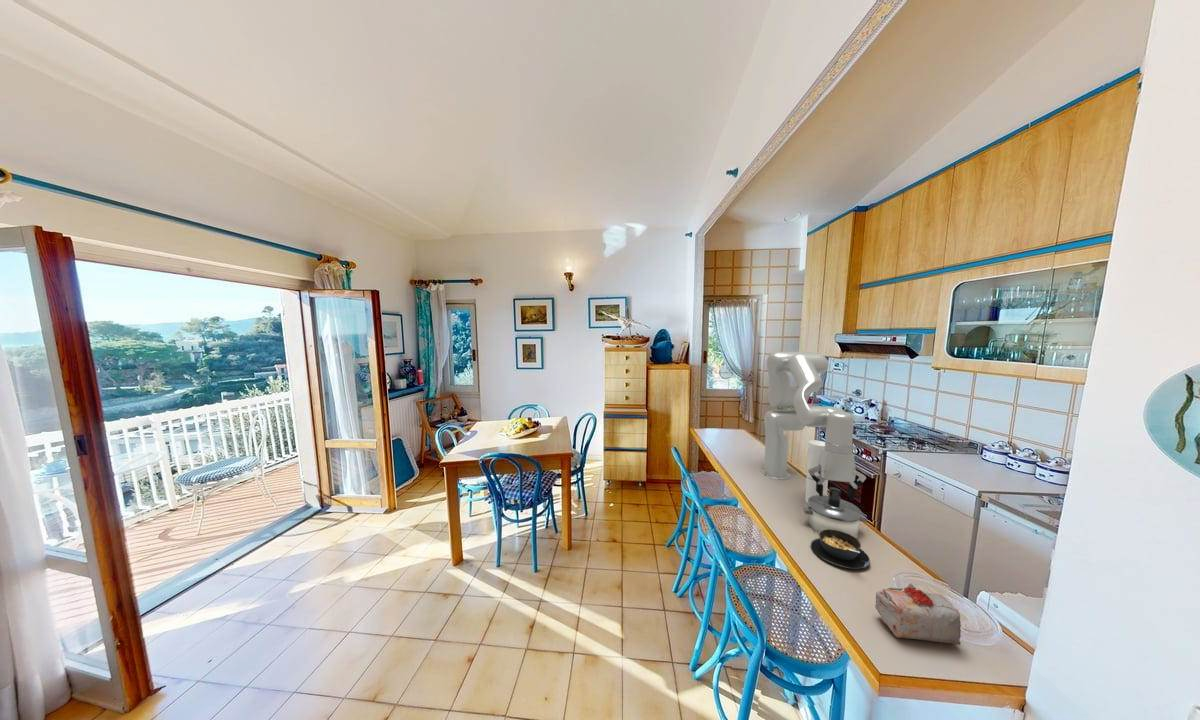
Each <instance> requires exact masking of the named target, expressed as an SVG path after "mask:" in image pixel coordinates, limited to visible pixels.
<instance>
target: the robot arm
mask: <svg viewBox="0 0 1200 720" xmlns="http://www.w3.org/2000/svg"><path fill="white" fill-rule="evenodd" d="M766 369H767V373H768V403H769V405H770V406H771V407H773V408H785V409H771V410H768V411H766V412H765V413H764V416H763V421H764V428H765V437H764V438H765V442H764V445H765V447H764V466H763V467H762V468H763V469H762V468H760V473H761V472H762V473H763V474H764V475H766V476H768V477H767V478H769V477H770V478H769V479H772V478H773V480H777V479H779V480H778V481H787V480H789V479H791V474H790V473H789V472H788V471H787V470H788V453H789V452H788V450H789V448H788V447H789V440H788V437H787V436H786V435H785V433H784V432H786V431H788V432H789V431H793V432H795V431H796V432H797V431H802V430H804V429H805V428H806V427H807V428H825V439H824V442H825V448H823V449H822V450H821V453H820V457H819V462H818V466H816V467H814V468H811V469H808V472H809V474H810V475H811V477H812V478H813V479H814V480H815V481H816V492H818V494H819V495H820V496H823V485H822V483H823V482H824V481H825V480H828V481H834V482H842V483H848V485H847V495H846V496H847V497H848V498H849V499H850V500H851V501H854V498H855V497H856V490H857V489H858V488H859V487H860V486H861V485H863V483H864V482H865V481H866V479H867V476H866V475H865V474H863V473H862V472H859V471H858V470H856V461H855V460H856V459H855V454H854V453H853V451H857V449H858V448H857V446H856V445H854V444H853V437H854V436H853V435H854V424H855V423H854V422H855V421H854V420H855V419H854V416H853V414H851V413H849V412H847V411H843V409H841V408H839V407H837V406H826V405H825V406H820V405H818V406H817V405H808V397H807V396H808V395H811V394H813V393H816V392H818V391H819V390H820V389H821V388H822V387H823V383H824V382H823V380H822V378H821V376H820V375H819V374H821V375H822V374H825V373H826V372H827V371H828V369H829V360H828V358H827V357H826V356H825V354H822V353H817V352H809V351H776V352H771V354H769V355H768V356H767V359H766ZM787 371H790V373H791V375H792V377H793V379H794V381H795V383H796V386H797V387H791V386H790V384H791V381H790V380H791V379H790V376H789V374H788V372H787ZM786 408H787V409H786ZM815 472H818V474H820V475H819V476H818V477H816V476H815V475H814V473H815ZM762 473H761V474H762ZM763 474H762V475H763ZM764 475H763V476H764ZM766 476H765V477H766ZM856 476H858V478H857V479H856ZM786 479H787V480H786Z"/></svg>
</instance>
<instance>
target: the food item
mask: <svg viewBox="0 0 1200 720" xmlns="http://www.w3.org/2000/svg"><path fill="white" fill-rule="evenodd" d="M874 608H875V609H876V612H878V614H879V616H880V617H881V620H882V622H884V623H885V624H886V626H887V627H888V628H889V630H890V631H891V632H892V634H893V635H894V637H896V638H897V639H898V638H899V639H907V640H908V639H909V640H910V639H911V640H920V641H928V642H934V643H945V644H952V645H958V646H960V645H961V644H962V642H961V641H960V638H961V636H962V635H961V630H962V629H961V627H962V625H961V615H960V612H959V610H958V609H957V608H955V607H954V605H953V603H951V602H950V601H949V600H948V599H947V598H946V597H944V596H943V595H942V594H937V593H936V594H935V593H930V592H929V593H928V592H924V591H922V590H921V589H917V588H916V587H914V584H912V583H909V584H908V586H906V587H903V588H899V587H888V588H882V590H881V591H879V590H877V592H875V605H874Z"/></svg>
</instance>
